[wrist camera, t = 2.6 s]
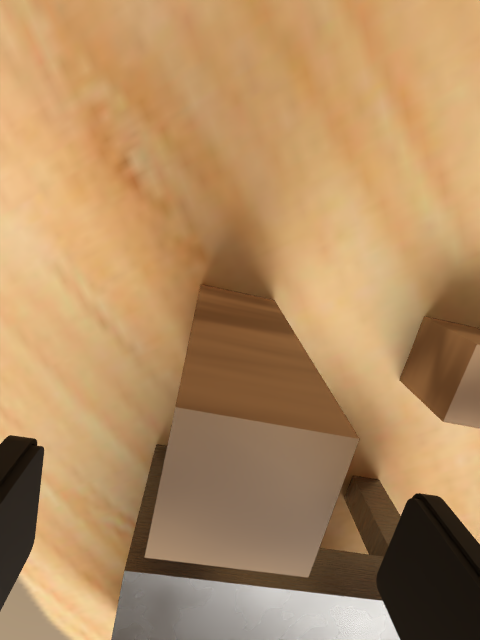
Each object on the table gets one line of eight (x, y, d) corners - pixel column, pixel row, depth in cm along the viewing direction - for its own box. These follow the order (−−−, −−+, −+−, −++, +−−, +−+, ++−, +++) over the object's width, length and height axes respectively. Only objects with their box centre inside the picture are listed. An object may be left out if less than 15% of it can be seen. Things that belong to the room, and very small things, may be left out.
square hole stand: (156, 444, 25) (124, 570, 16) (378, 479, 27) (455, 609, 18) (122, 617, 29) (83, 789, 21) (316, 636, 31) (354, 801, 23)
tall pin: (200, 284, 22) (175, 407, 8) (274, 300, 22) (359, 439, 9) (186, 354, 23) (144, 557, 10) (256, 367, 24) (308, 577, 10)
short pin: (423, 316, 23) (477, 344, 19) (487, 330, 24) (555, 361, 19) (399, 379, 25) (443, 421, 20) (460, 391, 25) (517, 435, 20)
